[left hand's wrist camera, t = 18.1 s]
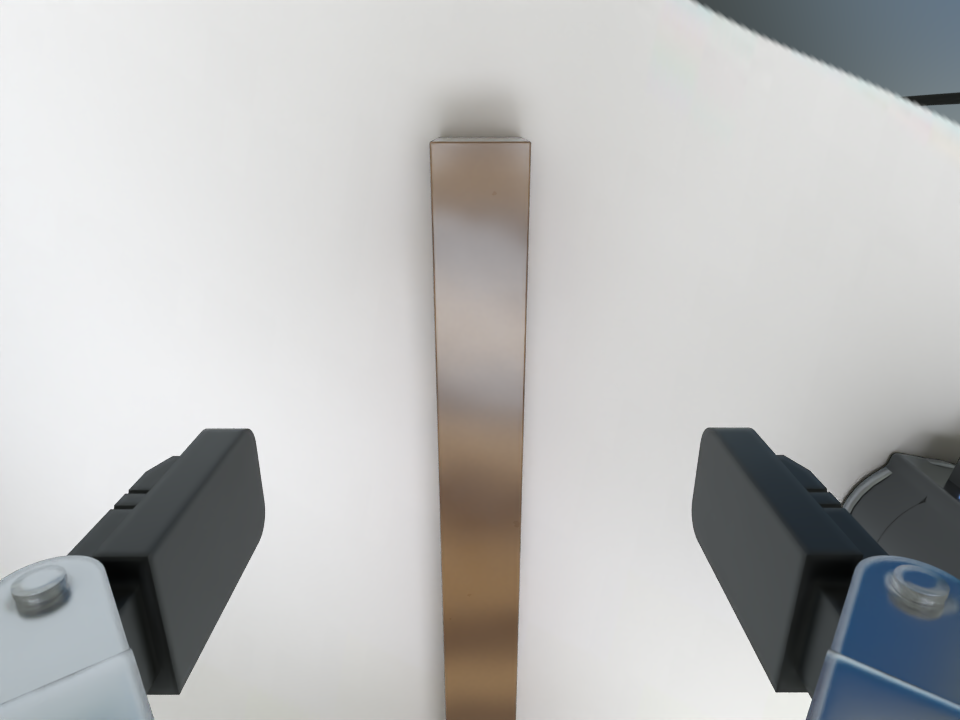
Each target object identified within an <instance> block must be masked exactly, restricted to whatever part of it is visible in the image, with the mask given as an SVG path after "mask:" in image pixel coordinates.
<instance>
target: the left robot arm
mask: <svg viewBox="0 0 960 720" xmlns="http://www.w3.org/2000/svg"><path fill="white" fill-rule="evenodd" d="M901 98H902V99H904V100H907V101H910V102H911V103H913V104H916V105H918V106H930V105H950V104H960V92H957V93H943V94H930V95H917V96H904V97H901ZM264 521H265V503H264V496H263V489H262V482H261V475H260V468H259V461H258V454H257V447H256V441H255V437H254V434H253V432H252V431H251V430H250V429H205V430H203V431H202V432H201V433H200V434H199V435H198V436H197V438H196V439H195V440H194V441H193V442H192V443H191V444H190V445H189V447H188V448H187V449H186V450H185V451H184V452H183V453H182V454H181V456H172V457H170V458H169V459H167V460H165V461H164V462H162V463H160V464H159V465H157V466H155V467H153V468H152V469H150V470H148V471H147V472H145V473H144V474H143V476H142V477H141V478H140V479H139V480H138V481H137V482H136V483H135V484H134V485H133V486H132V487H131V488H130V489H129V493H128V494H125V495H124V496H123V497H122V498H121V499H120V500H119V501H118V502H117V503H116V504H115V505H114V509H110V510H109V512H108V513H107V514H106V515H105V516H104V517H103V518H102V519H101V520H100V521H99V522H98V523H97V524H96V525H95V526H94V527H93V528H92V530H91V531H90V532H89V533H88V534H87V535H86V536H85V537H84V538H83V539H82V540H81V541H80V542H79V543H78V544H77V545H76V546H75V548H74V549H73V550H72V551H71V552H70V553H69V554H68V555H67V556H61V557H55V558H51V559H46V560H43V561H40V562H36V563H34V564H31V565H28V566H26V567H24V568H22V569H19V570H17V571H15V572H13V573H12V574H10V575H8V576H6V577H5V578H3V579H2V580H0V720H154V718H153V714H152V711H151V708H150V705H149V702H148V698H147V695H179V694H180V692H181V690H182V688H183V687H184V685H185V683H186V681H187V679H188V677H189V675H190V673H191V671H192V669H193V667H194V665H195V664H196V662H197V660H198V658H199V656H200V654H201V652H202V650H203V648H204V646H205V644H206V642H207V641H208V639H209V637H210V635H211V633H212V631H213V629H214V627H215V625H216V623H217V621H218V619H219V618H220V616H221V614H222V612H223V610H224V608H225V606H226V604H227V602H228V600H229V598H230V596H231V595H232V593H233V591H234V589H235V587H236V585H237V583H238V581H239V579H240V577H241V575H242V573H243V572H244V570H245V568H246V566H247V564H248V562H249V560H250V558H251V556H252V554H253V552H254V550H255V549H256V547H257V545H258V543H259V541H260V538H261V536H262V532H263V528H264ZM692 522H693V528H694V532H695V535H696V538H697V540H698V542H699V544H700V546H701V548H702V550H703V552H704V554H705V556H706V558H707V560H708V562H709V564H710V565H711V567H712V569H713V571H714V573H715V575H716V577H717V579H718V581H719V583H720V585H721V587H722V589H723V591H724V593H725V595H726V597H727V598H728V600H729V602H730V604H731V606H732V608H733V610H734V612H735V614H736V616H737V618H738V620H739V622H740V624H741V626H742V628H743V630H744V631H745V633H746V635H747V637H748V639H749V641H750V643H751V645H752V647H753V649H754V651H755V653H756V655H757V657H758V659H759V661H760V663H761V664H762V666H763V668H764V670H765V672H766V674H767V676H768V678H769V680H770V682H771V684H772V686H773V688H774V690H775V692H808V693H809V695H810V697H811V698H812V702H811V705H810V708H809V711H808V714H807V718H806V720H960V458H959V460H958V462H957V464H952V463H948V462H946V461H942V460H937V459H928V458H922V457H917V456H912V455H907V454H902V453H894V454H893V455H892V456H891V458H890V460H889V462H888V464H887V465H886V466H885V467H884V468H882V469H881V470H879V471H877V472H875V473H874V474H872V475H870V476H869V477H868V478H866V479H865V480H864V481H863V482H862V483H860V484H859V485H858V486H857V487H856V488H855V489H854V490H853V492H852V493H851V494H850V495H849V497H848V498H847V500H846V501H845V503H844V505H843V507H842V508H841V503H840V502H839V501H838V500H837V499H836V498H835V497H834V496H833V495H832V494H831V493H830V492H827V488H826V487H825V486H824V485H823V484H822V483H821V482H820V481H819V480H818V479H817V478H816V477H815V476H814V475H813V473H812V472H811V471H810V470H808V469H806V468H805V467H803V466H801V465H799V464H798V463H796V462H794V461H793V460H791V459H789V458H788V457H786V456H784V455H775V453H774V452H773V451H772V450H771V449H770V448H769V447H768V445H767V444H766V443H765V442H764V441H763V440H762V439H761V437H760V436H759V435H758V434H757V433H756V432H755V431H754V430H753V429H752V428H707V429H705V431H704V432H703V435H702V438H701V443H700V450H699V457H698V464H697V471H696V479H695V486H694V493H693V500H692Z"/></svg>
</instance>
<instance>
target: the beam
mask: <svg viewBox="0 0 960 720" xmlns="http://www.w3.org/2000/svg"><path fill="white" fill-rule="evenodd" d="M530 163H531V142H530V141H528V140H525V139H523V138H521V137H439V138H437V139H435V140H433V141H431V142H430V174H431V209H432V245H433V281H434V316H435V352H436V387H437V423H438V459H439V494H440V530H441V566H442V601H443V637H444V673H445V708H446V720H516V696H517V658H518V620H519V581H520V543H521V505H522V467H523V429H524V391H525V353H526V315H527V277H528V239H529V201H530Z"/></svg>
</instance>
